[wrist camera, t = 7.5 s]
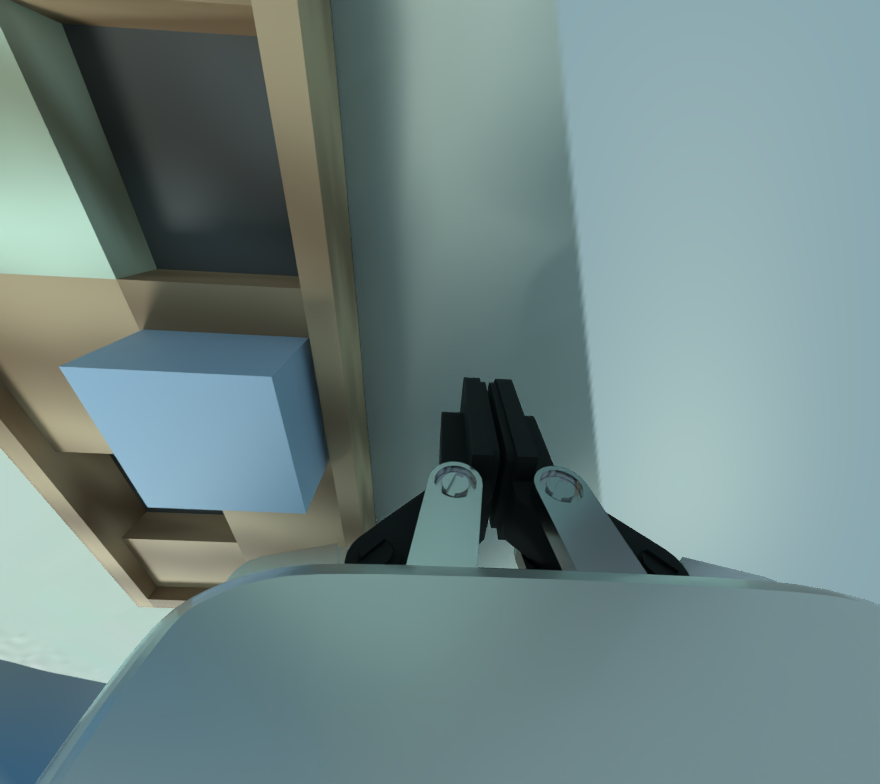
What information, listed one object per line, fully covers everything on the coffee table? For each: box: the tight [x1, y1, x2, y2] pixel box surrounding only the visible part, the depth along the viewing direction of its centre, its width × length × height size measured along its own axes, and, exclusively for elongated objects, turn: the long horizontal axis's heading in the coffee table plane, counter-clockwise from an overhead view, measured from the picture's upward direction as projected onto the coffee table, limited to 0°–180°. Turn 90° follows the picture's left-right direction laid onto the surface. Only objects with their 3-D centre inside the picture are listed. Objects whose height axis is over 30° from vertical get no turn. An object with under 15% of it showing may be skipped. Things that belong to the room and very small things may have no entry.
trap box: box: [0, 0, 376, 608], centre depth 14 cm, size 30×15×3 cm, turn 177°
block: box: [59, 329, 329, 514], centre depth 12 cm, size 6×6×3 cm
